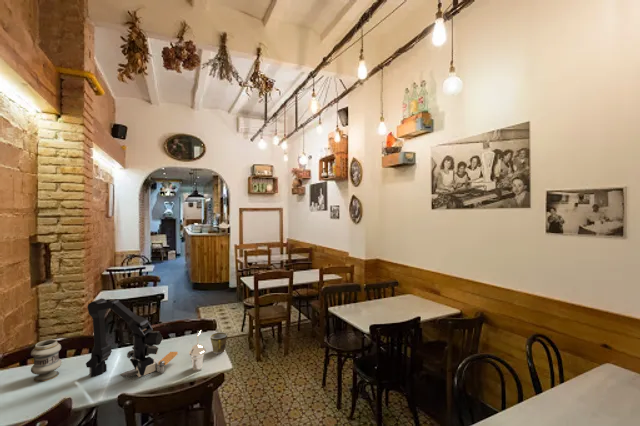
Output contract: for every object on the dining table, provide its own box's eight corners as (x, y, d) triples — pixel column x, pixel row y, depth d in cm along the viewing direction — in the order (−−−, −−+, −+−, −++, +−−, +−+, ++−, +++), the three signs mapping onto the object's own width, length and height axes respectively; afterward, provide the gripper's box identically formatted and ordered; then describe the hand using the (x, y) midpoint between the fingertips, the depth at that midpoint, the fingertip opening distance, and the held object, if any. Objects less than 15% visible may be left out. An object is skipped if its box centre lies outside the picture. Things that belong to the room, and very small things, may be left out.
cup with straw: (185, 372, 163) (185, 335, 163) (198, 364, 172) (198, 329, 172) (197, 375, 160) (197, 337, 160) (210, 367, 168) (210, 331, 168)
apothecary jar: (24, 384, 151) (24, 348, 151) (39, 372, 163) (39, 338, 163) (53, 381, 154) (53, 345, 154) (66, 369, 166) (66, 336, 166)
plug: (128, 381, 153) (128, 373, 153) (125, 378, 155) (125, 370, 155) (155, 370, 163) (155, 363, 163) (152, 368, 165) (152, 360, 165)
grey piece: (133, 388, 148) (133, 378, 148) (119, 376, 159) (119, 366, 159) (166, 374, 161) (166, 365, 161) (151, 364, 172) (151, 355, 172)
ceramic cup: (209, 349, 190) (209, 333, 190) (226, 346, 194) (226, 331, 194) (211, 358, 178) (211, 341, 178) (229, 355, 182) (229, 338, 182)
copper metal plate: (157, 366, 159) (157, 362, 159) (170, 354, 173) (170, 351, 173) (164, 366, 159) (164, 363, 159) (177, 354, 172) (177, 351, 172)
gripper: (164, 343, 159) (164, 373, 159) (148, 334, 171) (148, 362, 171) (141, 351, 150) (141, 383, 151) (126, 341, 162) (126, 370, 162)
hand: (140, 374), depth 159 cm, fingers open, 5 cm apart
